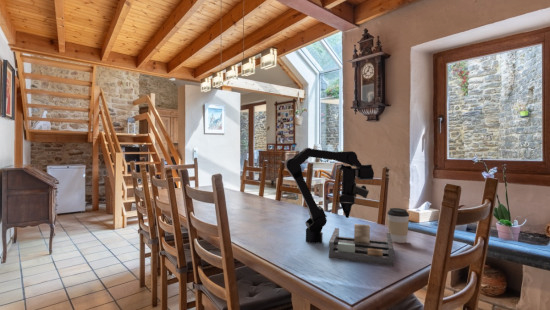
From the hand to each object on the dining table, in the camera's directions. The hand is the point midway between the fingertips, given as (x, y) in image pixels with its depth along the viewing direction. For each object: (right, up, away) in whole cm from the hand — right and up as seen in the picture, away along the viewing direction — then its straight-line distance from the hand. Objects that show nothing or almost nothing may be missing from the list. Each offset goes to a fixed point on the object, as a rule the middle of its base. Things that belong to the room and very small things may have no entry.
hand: (348, 215), depth 129 cm
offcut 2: (+4, -12, -23) cm, 26 cm away
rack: (+1, -12, -15) cm, 19 cm away
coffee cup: (+22, -13, +1) cm, 26 cm away
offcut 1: (-6, -11, -20) cm, 24 cm away
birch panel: (+4, -11, -8) cm, 14 cm away
